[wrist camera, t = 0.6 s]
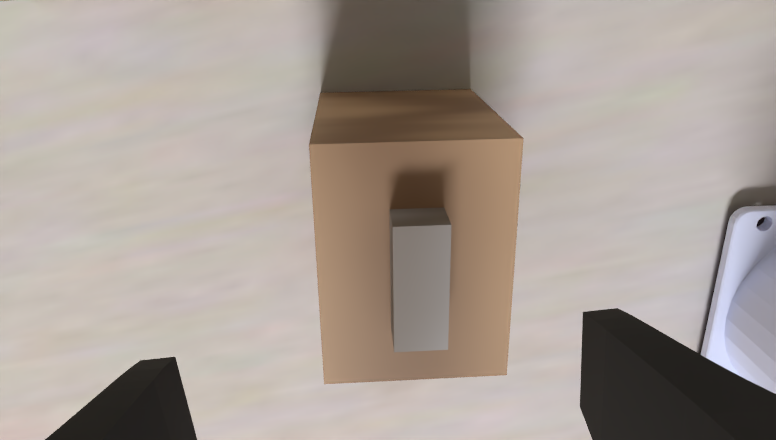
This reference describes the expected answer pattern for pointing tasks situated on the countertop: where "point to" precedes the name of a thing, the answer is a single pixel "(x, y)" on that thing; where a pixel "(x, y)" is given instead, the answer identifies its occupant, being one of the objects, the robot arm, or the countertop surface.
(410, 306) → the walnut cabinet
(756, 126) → the countertop surface
